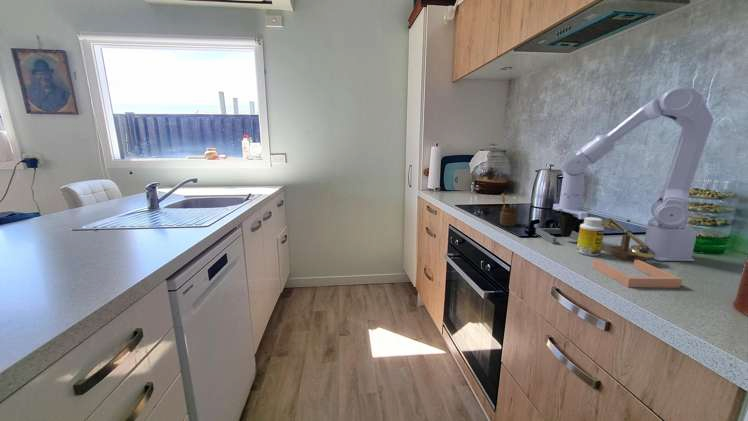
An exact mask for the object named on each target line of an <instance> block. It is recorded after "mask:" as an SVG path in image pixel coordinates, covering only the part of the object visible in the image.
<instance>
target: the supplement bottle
mask: <svg viewBox="0 0 748 421" xmlns="http://www.w3.org/2000/svg"><path fill="white" fill-rule="evenodd" d="M602 220H603V219H602V218H599V217H592V216H588V217H585V219H583V223H581V224H580V225H579V231H578V233H579V236H578V240H577V243H576V244H577V245H576V251H577V252H578V253H579V254H582V255H585V256H591V257H596V256H600V255H601V251H602V246H603V239H604V234H605V228H604V227H603V226H601V225H602Z"/></svg>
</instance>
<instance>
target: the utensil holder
mask: <svg viewBox="0 0 748 421" xmlns="http://www.w3.org/2000/svg"><path fill="white" fill-rule="evenodd" d="M501 201H502V202H503V206H502V207H501V211H500V214H499V224H500V225H502V226H505V227H514V226H516V225H517V218H518V217H517V215H518V214H517V207H516V206H517V203H518V201H517V200H515V198H511V200H510V203H512V202H513V205H505V204H506V198H505V193H504V192H503V193H501Z"/></svg>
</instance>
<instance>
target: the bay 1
mask: <svg viewBox="0 0 748 421" xmlns="http://www.w3.org/2000/svg"><path fill="white" fill-rule="evenodd" d="M535 233H537V234H538V235H540V236H541V237H540V236H539V237H540V238H541V239H543V240H545V241H547V242H549V243H551V244H553V245H556V244H557V239H558V237H556V236H555V235H550V234H561V231H560V227H559V228H558V227H557V228H556V227H555V228H550V227H549V228H547V227H544V228H543V227H542V228H540V227H539V228H535ZM535 233H534V234H535ZM538 235H537V236H538ZM578 236H579V232H577V231H575V230H573V231H572V233H571V235H570V236H569V238H572V239H574V240H576V241H578Z"/></svg>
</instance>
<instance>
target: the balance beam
mask: <svg viewBox="0 0 748 421" xmlns="http://www.w3.org/2000/svg"><path fill="white" fill-rule="evenodd" d="M601 226H603V227H604V229H608V230H613V231H617V230H621V231H622V235H628V236H629V237H630V239H632V240H633V241H634V242H635V243H637V244H634V245H633V244H632V245H631V246H630V247H629V248H630V250H631V252H632V253H634V254H635V255H637V256H640V257H643V258H647V259H653V258H654V257H655V252H654V251H652V250H651V249H650V248H649V247H648V246H647V245H646V244H644V241H642V240H640V238H638V237H637V236H636V235H634V234H633V233H632V231H631V230H628V229H626V228H625V227H624V226H623V225H622V224H620V223H619V222H617V221H616V220H615V219H614V218H612V217H609V219H607V218H606V219H602V225H601Z"/></svg>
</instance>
